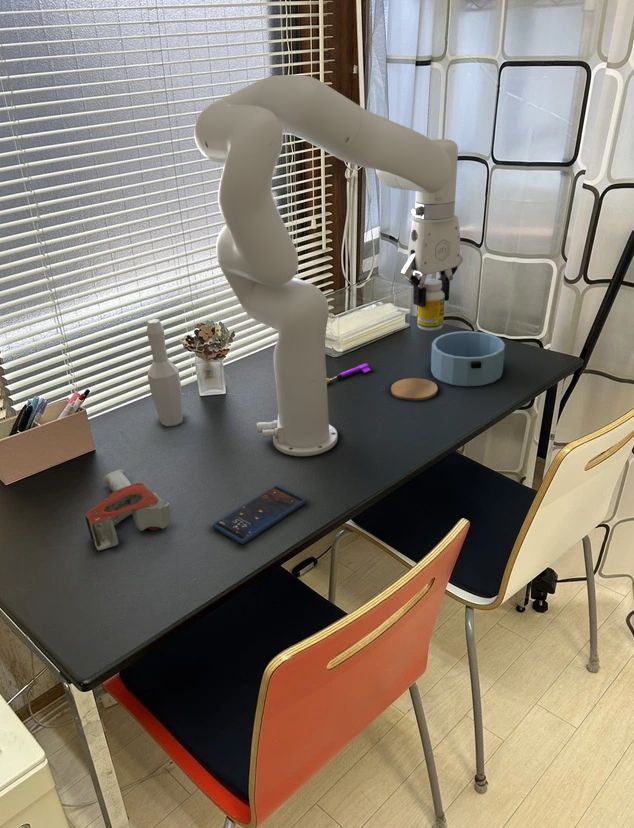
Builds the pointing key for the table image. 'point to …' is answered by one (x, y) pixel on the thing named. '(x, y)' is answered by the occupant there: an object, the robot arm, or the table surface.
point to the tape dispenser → (125, 510)
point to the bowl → (467, 358)
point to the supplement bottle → (432, 306)
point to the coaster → (414, 389)
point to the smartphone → (259, 514)
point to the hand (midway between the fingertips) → (431, 301)
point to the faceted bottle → (164, 378)
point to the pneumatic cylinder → (353, 371)
